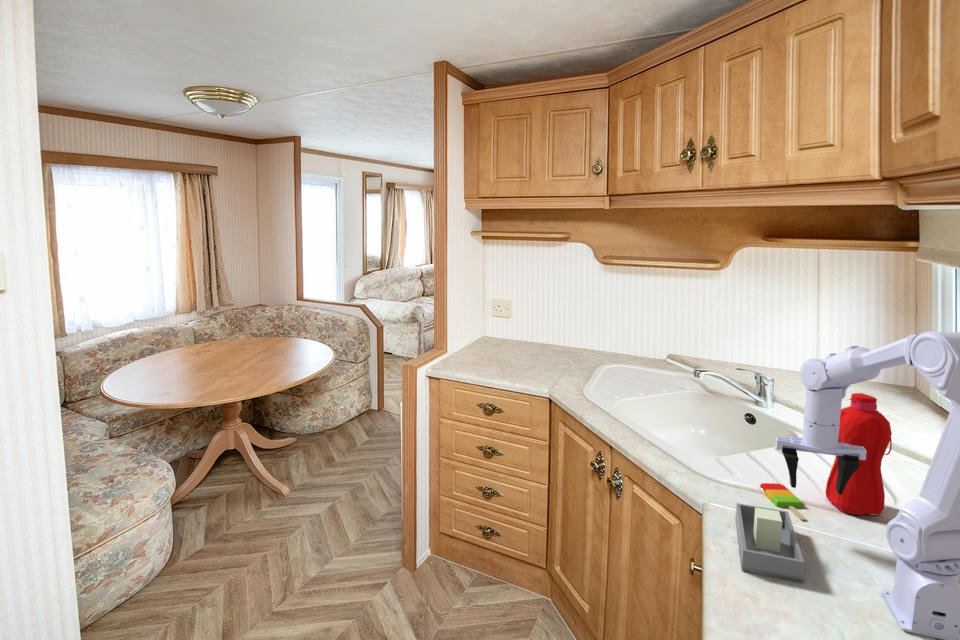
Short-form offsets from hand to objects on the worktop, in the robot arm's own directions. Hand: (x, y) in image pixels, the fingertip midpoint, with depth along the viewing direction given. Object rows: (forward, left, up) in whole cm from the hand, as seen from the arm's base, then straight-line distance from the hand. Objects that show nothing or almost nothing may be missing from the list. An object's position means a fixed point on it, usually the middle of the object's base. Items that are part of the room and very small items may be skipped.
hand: (815, 488), depth 101 cm
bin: (-9, +9, -9) cm, 16 cm away
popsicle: (+12, +3, -10) cm, 16 cm away
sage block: (-9, +9, -9) cm, 15 cm away
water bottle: (+16, -11, -10) cm, 22 cm away
